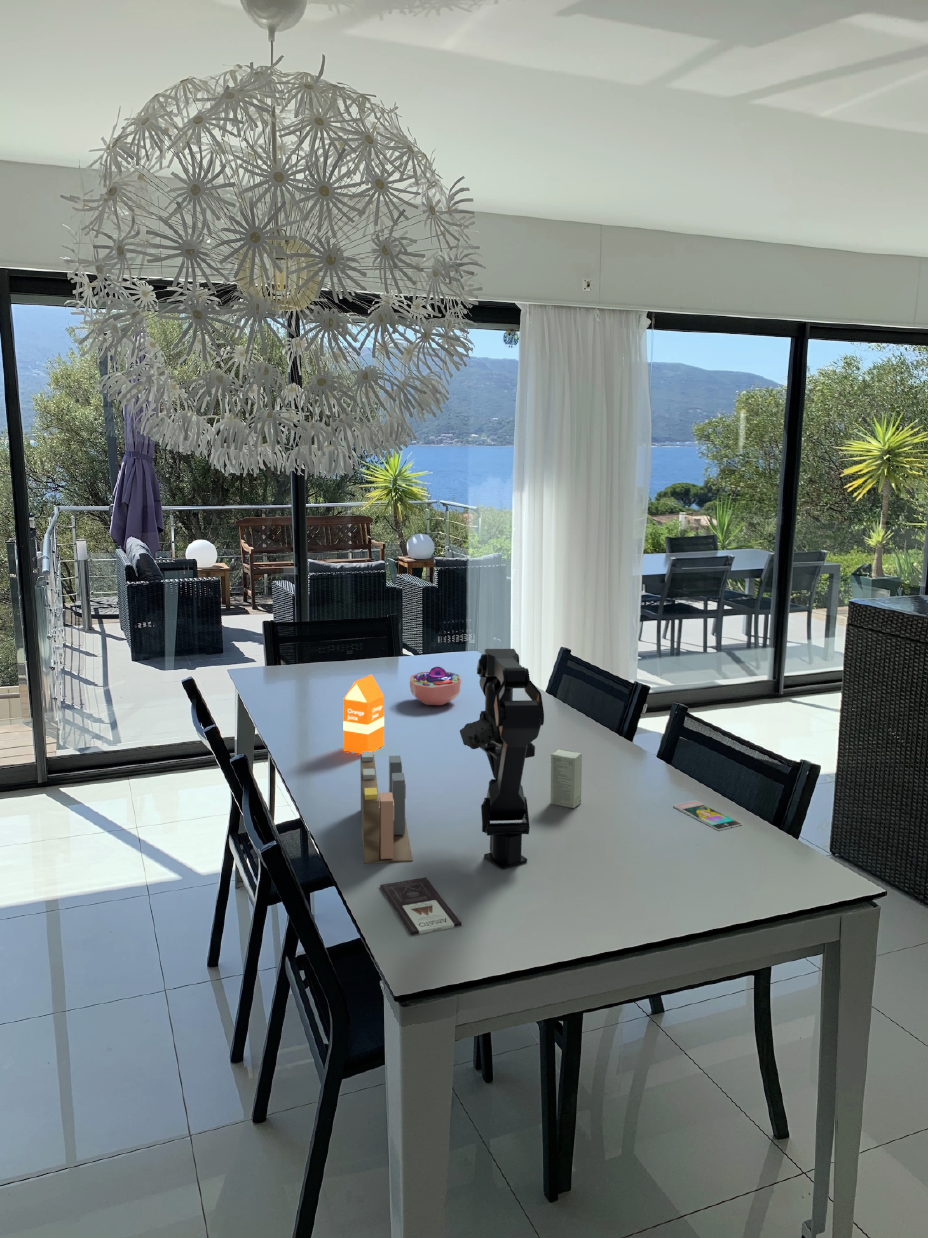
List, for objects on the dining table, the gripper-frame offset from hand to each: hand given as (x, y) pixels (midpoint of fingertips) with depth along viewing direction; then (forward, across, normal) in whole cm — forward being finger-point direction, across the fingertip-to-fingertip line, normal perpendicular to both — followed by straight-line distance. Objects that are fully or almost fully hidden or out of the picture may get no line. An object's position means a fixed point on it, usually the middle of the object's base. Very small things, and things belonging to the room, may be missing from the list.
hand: (497, 778), depth 191 cm
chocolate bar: (+13, +19, -30) cm, 38 cm away
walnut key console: (+12, -11, -21) cm, 27 cm away
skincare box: (+12, -5, +23) cm, 27 cm away
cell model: (+12, -92, +40) cm, 101 cm away
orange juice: (+12, -63, 0) cm, 64 cm away
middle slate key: (+11, -10, -18) cm, 24 cm away
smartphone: (+13, +17, +46) cm, 51 cm away
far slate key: (+11, -20, -14) cm, 27 cm away
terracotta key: (+12, -1, -26) cm, 28 cm away
